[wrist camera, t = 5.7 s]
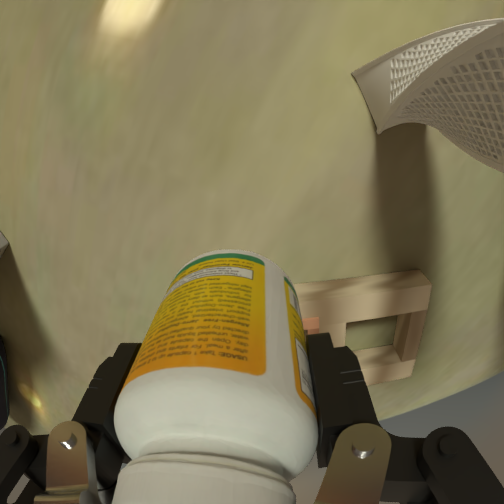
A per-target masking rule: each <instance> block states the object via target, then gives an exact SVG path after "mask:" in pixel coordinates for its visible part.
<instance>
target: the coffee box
mask: <svg viewBox="0 0 504 504" xmlns="http://www.w3.org/2000/svg"><path fill="white" fill-rule="evenodd" d="M8 244H9V243H8V241H7V240H6V238H5V237H4V236H3V234H2V233H1V231H0V258H1V256H2V254H3V253H4V251H5V249H6V248H7V246H8Z"/></svg>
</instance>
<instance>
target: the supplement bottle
mask: <svg viewBox="0 0 504 504" xmlns="http://www.w3.org/2000/svg"><path fill="white" fill-rule="evenodd" d="M114 426H115V431H116V434H117V437H118V440H119V442H120V444H121V446H122V447H123V449H124V451H125V452H126V453H127V455H128V456H129V457H130V458H131V459H132V461H130V462H129V463H128V464H127V466H126V467H125V468H123V469H122V470H121V471H120V473H119V475H118V480H117V485H116V489H115V493H114V496H113V500H112V504H296V495H295V494H294V492H293V489H292V486H291V484H290V483H289V481H290V480H292V479H294V478H295V477H296V476H298V475H299V474H300V473H301V472H302V471H303V470H304V469H305V468H306V467H307V466H308V464H309V463H310V461H311V460H312V458H313V456H314V454H315V451H316V448H317V444H318V423H317V415H316V407H315V400H314V393H313V386H312V379H311V373H310V367H309V361H308V354H307V348H306V341H305V335H304V328H303V322H302V317H301V312H300V307H299V302H298V297H297V293H296V290H295V288H294V286H293V284H292V282H291V280H290V279H289V277H288V276H287V275H286V273H285V272H284V271H283V270H282V269H281V268H280V267H279V266H278V265H276V264H275V263H274V262H272V261H271V260H269V259H268V258H266V257H264V256H261V255H259V254H257V253H254V252H251V251H244V250H235V249H225V250H216V251H211V252H207V253H204V254H202V255H199V256H197V257H195V258H194V259H192V260H191V261H189V262H188V263H186V264H185V265H184V266H183V267H182V268H181V269H180V270H179V272H178V273H177V274H176V276H175V277H174V279H173V281H172V283H171V285H170V286H169V288H168V290H167V293H166V295H165V297H164V298H163V300H162V302H161V304H160V307H159V309H158V311H157V313H156V315H155V317H154V319H153V321H152V324H151V326H150V328H149V330H148V332H147V334H146V337H145V339H144V341H143V343H142V345H141V348H140V350H139V352H138V354H137V356H136V359H135V361H134V363H133V365H132V367H131V370H130V372H129V374H128V376H127V379H126V381H125V383H124V386H123V388H122V390H121V392H120V395H119V397H118V400H117V403H116V406H115V411H114Z"/></svg>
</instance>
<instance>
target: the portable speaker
mask: <svg viewBox="0 0 504 504" xmlns="http://www.w3.org/2000/svg"><path fill="white" fill-rule="evenodd" d="M8 416H9V398H8V382H7V360H6V353H5V348H4V345H3V342H2V340H1V338H0V430H1V429H2V428H3V427H4V426H5V425H6V423H7V420H8Z"/></svg>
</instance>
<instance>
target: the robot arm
mask: <svg viewBox="0 0 504 504" xmlns="http://www.w3.org/2000/svg"><path fill="white" fill-rule="evenodd" d="M141 345H142V343H121V344H119V346H118V348H117V350H116V352H115V354H114V356H113V357H108V358H107V359H106V360H105V361H104V362H103V363H102V364H101V365H100V366H99V367H98V369H97V371H96V373H95V375H94V377H93V379H92V380H91V382H90V384H89V388H87V390H86V392H85V394H84V396H83V398H82V400H81V402H80V404H79V406H78V408H77V410H76V413H75V415H74V417H73V419H72V420H71V421H65V422H62V423H60V424H58V425H57V426H55V427H54V428H53V429H52V431H51V432H50V434H48V435H34V436H32V435H31V434H30V433H29V432H28V431H27V429H26V428H25V427H23V426H21V425H13V426H10V427H8V428H7V429H5V430H4V431H3V433H2V434H1V435H0V504H8V503H7V498H8V496H9V494H10V493H11V491H12V490H13V488H14V487H15V485H16V484H17V482H18V481H19V479H20V478H21V476H22V475H23V474H24V475H25V476H26V477H27V478H29V479H30V480H29V482H28V483H27V485H26V487H25V488H24V490H23V491H22V493H21V494H20V496H19V497H18V499H17V500H16V502H15V503H13V504H112V500H113V496H114V493H115V489H116V485H117V480H118V475H119V473H120V468H121V465H122V463H126V464H128V463H129V462H130V461H132V459H131V458H130V457H129V456H128V455H127V453H126V452H125V451H124V449H123V447H122V446H121V444H120V442H119V440H118V437H117V434H116V431H115V426H114V411H115V406H116V403H117V400H118V397H119V395H120V392H121V390H122V388H123V386H124V383H125V381H126V379H127V376H128V374H129V372H130V370H131V367H132V365H133V363H134V361H135V359H136V356H137V354H138V352H139V350H140V348H141ZM306 348H307V354H308V361H309V367H310V373H311V379H312V386H313V393H314V400H315V407H316V415H317V423H318V444H317V448H316V451H317V459H318V467H319V468H322V467H327V470H326V473H325V476H324V478H323V481H322V484H321V486H320V489H319V492H318V494H317V497H316V499H315V502H314V504H379V501H384V502H399V503H400V504H504V488H503V486H502V485H501V483H500V482H499V480H498V479H497V477H496V476H495V474H494V473H493V471H492V470H491V468H490V467H489V465H488V464H487V463H486V461H485V460H484V458H483V457H482V456H481V454H480V453H479V451H478V450H477V448H476V447H475V445H474V444H473V443H472V441H471V440H470V439H469V437H468V436H467V435H466V434H465V433H464V432H463V431H461V430H460V429H458V428H455V427H441V428H438V429H436V430H434V431H432V432H431V433H430V434H429V435H428V436H427V437H426V438H405V437H398V436H395V435H392V434H390V433H388V432H387V431H386V430H384V429H383V428H382V427H381V426H380V424H379V422H378V420H377V417H376V414H375V411H374V407H373V404H372V401H371V398H370V395H369V391H368V388H367V385H366V382H365V380H364V376H363V373H362V371H361V367H360V364H359V361H358V358H357V356H356V355H355V354H354V353H353V352H352V351H351V350H350V349H349V348H348V347H347V346H343V347H335V348H334V347H333V343H332V339H331V336H330V333H329V332H326V333H318V334H309V335H306Z"/></svg>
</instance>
